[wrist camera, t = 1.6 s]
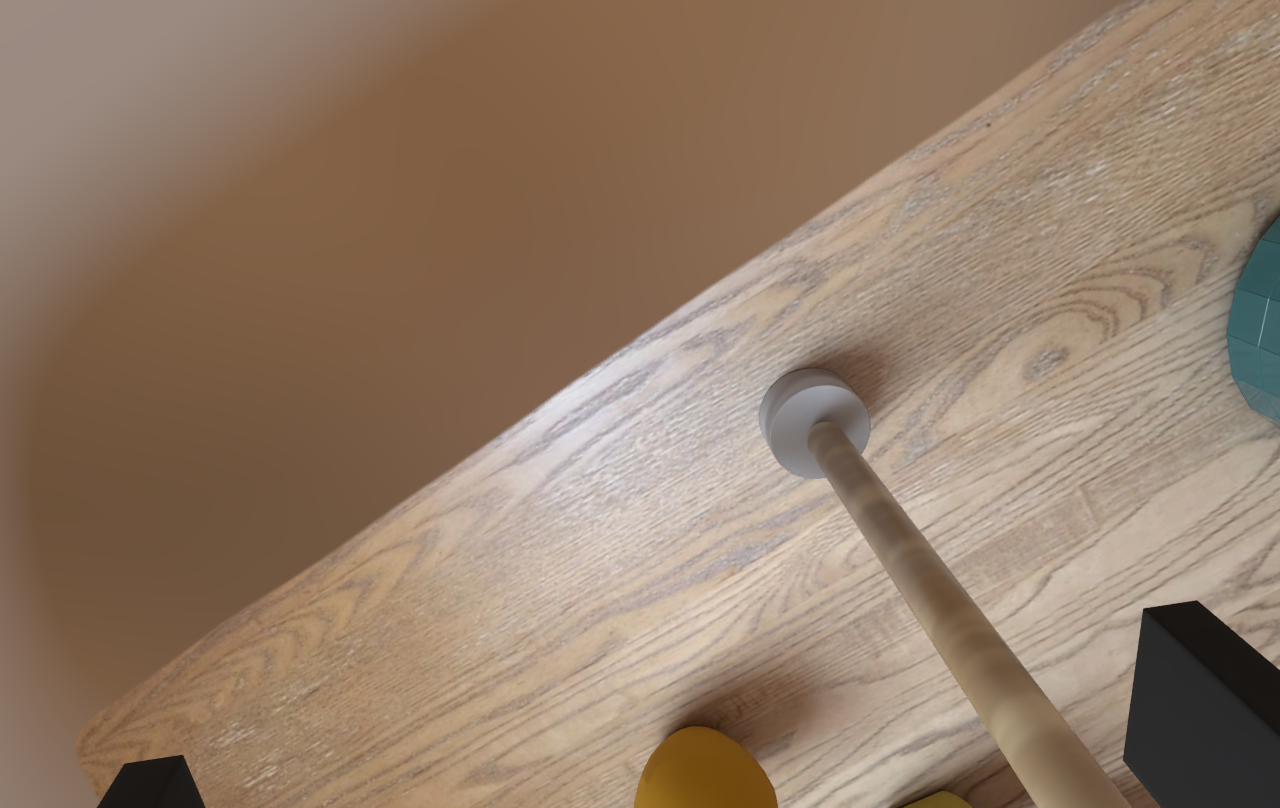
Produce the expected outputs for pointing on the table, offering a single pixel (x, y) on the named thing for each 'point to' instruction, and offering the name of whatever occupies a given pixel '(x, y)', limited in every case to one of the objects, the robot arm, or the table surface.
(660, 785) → the apple
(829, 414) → the wooden rounded dowel
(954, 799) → the flower pot
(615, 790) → the table surface
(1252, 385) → the bowl
